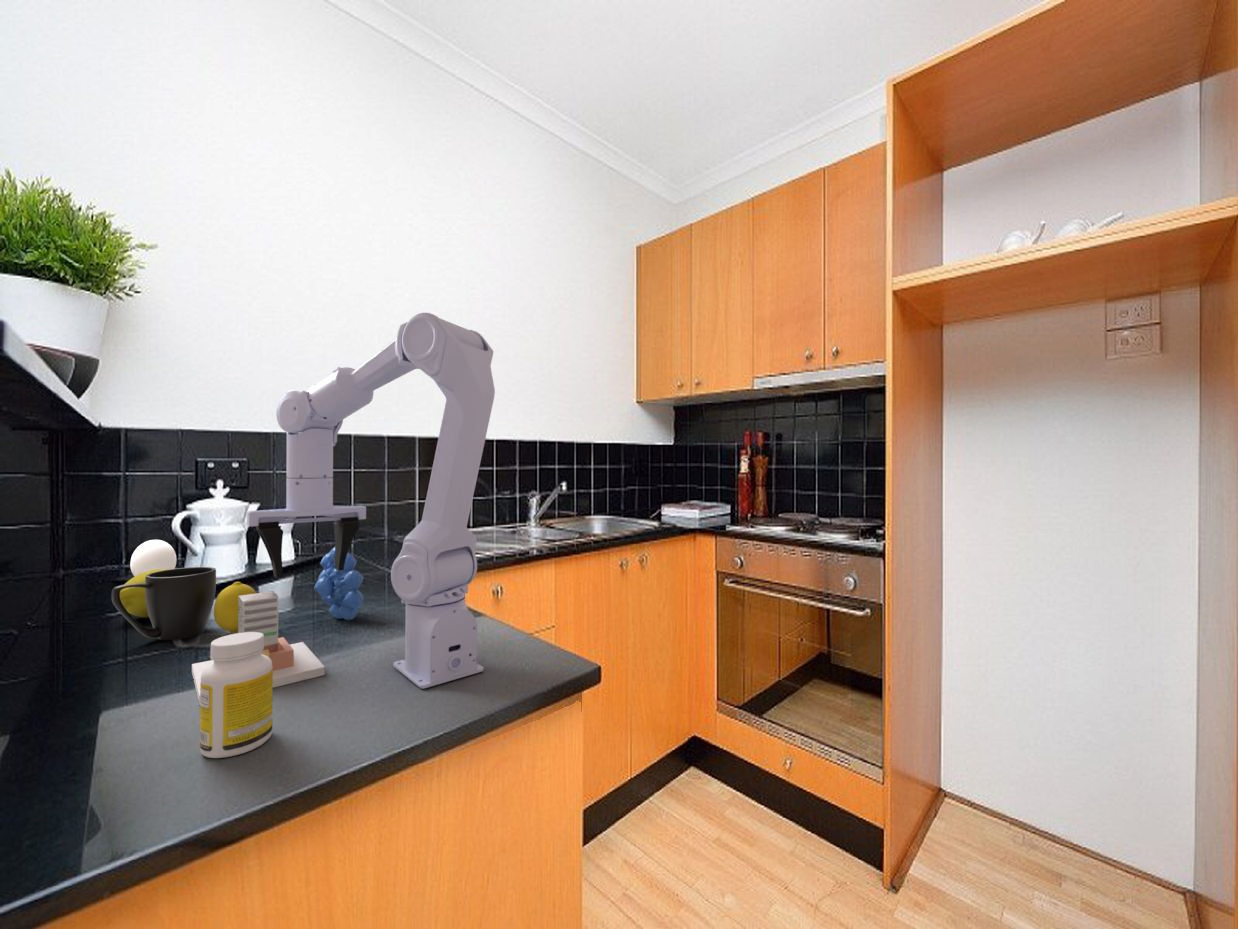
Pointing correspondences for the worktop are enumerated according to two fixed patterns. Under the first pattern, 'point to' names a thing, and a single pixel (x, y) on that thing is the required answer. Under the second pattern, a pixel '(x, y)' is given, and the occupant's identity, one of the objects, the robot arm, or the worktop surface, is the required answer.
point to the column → (259, 615)
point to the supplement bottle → (236, 696)
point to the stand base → (279, 664)
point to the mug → (174, 602)
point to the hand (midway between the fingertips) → (309, 572)
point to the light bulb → (152, 557)
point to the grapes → (340, 586)
